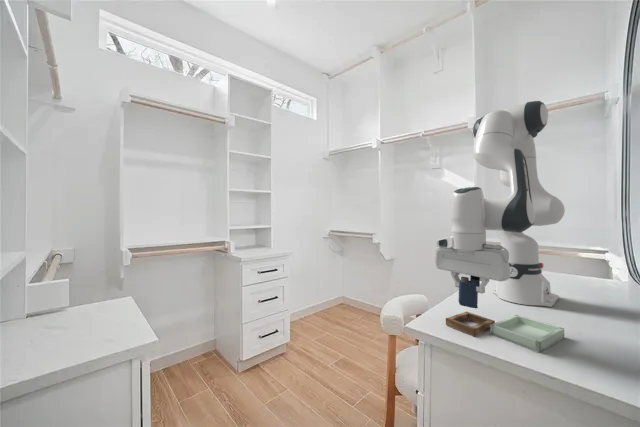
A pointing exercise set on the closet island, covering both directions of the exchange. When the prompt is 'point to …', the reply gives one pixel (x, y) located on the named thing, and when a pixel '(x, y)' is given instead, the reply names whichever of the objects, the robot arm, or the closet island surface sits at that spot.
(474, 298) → the vaping device
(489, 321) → the holder
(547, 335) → the tray
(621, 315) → the closet island surface
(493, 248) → the robot arm
